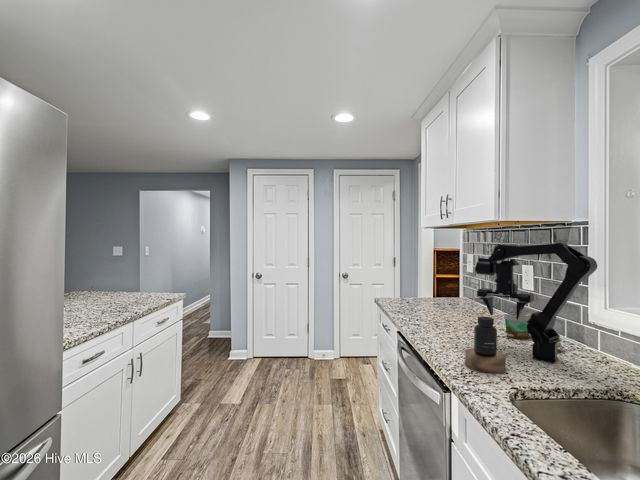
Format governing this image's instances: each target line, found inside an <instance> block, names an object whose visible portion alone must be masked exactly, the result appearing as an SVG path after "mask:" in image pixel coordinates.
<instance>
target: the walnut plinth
mask: <svg viewBox="0 0 640 480" xmlns="http://www.w3.org/2000/svg"><path fill="white" fill-rule="evenodd" d="M464 353H465V355H464V357H465V360H464V361H465V363H464V364H465V365H466V367H467V368H469V369H471V370H473V371H476V372H479V373H485V374H501V373H504V372H506V369H507V367H506V363H507V362H506V359H507V358H506V357H507V356H506V355H505V354H504V353H503V352H500V351H497V354H496V356H494V357H484V356H480V355H477V354H476V353H475V352H474V347H473V348H468V349H466V350H465V352H464Z"/></svg>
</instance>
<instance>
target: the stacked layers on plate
mask: <svg viewBox="0 0 640 480" xmlns="http://www.w3.org/2000/svg"><path fill="white" fill-rule="evenodd" d="M561 338H562V336H561V335H560V337H559V340H558V341H555V342H557V350H558V349H560V348H561V347H562V344H561V342H562V339H561Z"/></svg>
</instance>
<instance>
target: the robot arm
mask: <svg viewBox="0 0 640 480" xmlns="http://www.w3.org/2000/svg"><path fill="white" fill-rule="evenodd" d="M551 254H552V255H553V254H554V255H556V256H557V257H558V258H559V259H560V260H561V261H562V262H563V263H565V264H566V265H567V267H566V269H565V274H564V278H563V280H562V282H561V283H560V284H559V286H558V288H557V289H556V290H555V292H554V293H553V294H552V296H551V297H550V299H549V300H548V301H547V303H546V305H545V306H544V308H543V310H542V311H541V310H540V311H536V312H533V313H532V314H531V317H530V319H529V320H528V321H527V323H528V324H527V327H526V328H527V331H528V332H529V336H530V337H531V340H532V342H533V343H532V347H531V348H532V353H531V354H532V359H533V360H537V361H543V362H545V363H546V362H547V363H551V364H556V362H557V361H559V360H560V359H559V357H558V349H557V342H555V341H558V340H559V339H560V338H559V337H560V336H561V335H560V334H559V332H557V331H556V330H555V329H554V326H555V325H556V318H557V316H558V314H559V313H560V312H561V310H562V309H563V308H564V306H565V305H566V303H567V302H568V301H569V300H570V298H571V296H572V295H573V293H575V291H576V290H577V288H578V287H579V285H580V284H582V283H583V282H584V281H585V280H586V279H588V278H589V277H591V275H592V274H593V273H595V272H596V271H597V269H598V263H597V261H596V259H595V258H594V257H591V256H588V255H587V256H586V255H585V254H583V253H582V252H580V251H578V250H577V249H574V248H573V247H571V246H570V245H569V244H567V243H566V242H564V241H562V242H561V241H559V242H553V243H552V242H551V243H539V244H529V245H528V244H525V245H520V244H512V243H506V244H505V243H500V244H497V245H496V246H495V247H494V249H493V252H492V253H491V255H490V256H489V257H488V258H487V257H486V258H485V257H479V258H478V261H477V262H476V264H475V266H474V267H475V268H474V269H475V272H476V274H478V275H481V276H483V275H484V276H495V275H496V276H495V278H496V279H494V282H495V286H496V287H495V290H494V291H493V289H492V288H485V287H483V288H479V289H477V290H476V297H480V299H481V300H483V303H484V304H485V306H486V308H487V309H488V312H489V315H490V316H493V315H494V306H493V302H494V301H493V300H494V297H499V298H506V299H507V298H508V299H517V300H518V301H517V302H516V311H515V313H516V318H517V320H518V319H519V317H520V315H522V312H523V310H524V308H525V306H526V305H528V304H530V303H532V302H534V301H535V294H534V293H532V292H525V291H522V292H519V293H518V289H519V285H518V284H516V283H515V279H514V267H515V266H520V263H519V262H518V261H517V260H516V259H515V258H519V257H523V256H535V255H551ZM509 259H510V260H509Z"/></svg>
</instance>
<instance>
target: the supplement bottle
mask: <svg viewBox="0 0 640 480" xmlns="http://www.w3.org/2000/svg"><path fill="white" fill-rule="evenodd" d="M494 320H495V319H494V318H493V317H490V316H478V317H477V322H476V323H477V324H476V325H475V326H474V327H473V328H474V331H473V348H474V352H475V353H476V354H477V355H480V356H484V357H494V356H496V354H497V352H498V349H497V346H498V329H497V328H496V327H495V326H494V325H495V321H494Z"/></svg>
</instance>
